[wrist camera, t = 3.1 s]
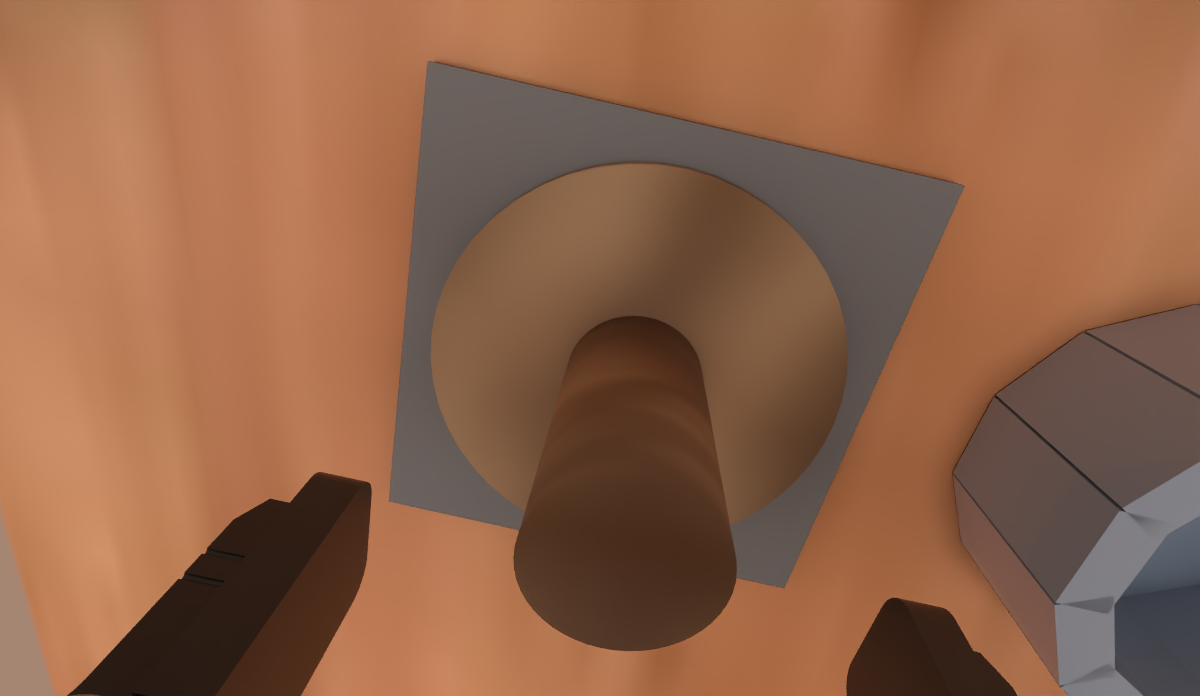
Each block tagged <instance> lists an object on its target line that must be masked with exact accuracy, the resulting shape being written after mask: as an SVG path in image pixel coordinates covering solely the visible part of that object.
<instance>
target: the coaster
mask: <svg viewBox="0 0 1200 696" xmlns="http://www.w3.org/2000/svg"><path fill="white" fill-rule="evenodd" d="M628 161H629V162H660V163H666V164H672V165H678V166H684V167H689V168H692V169H696V170H699V171H702V172H705V173H709V174H712V175H715V176H717V177H720V178H722V179H724V180H726V181H728V182H730V183H732V184H735V185H737V186H739V187H741V188H743V189H744V190H746V191H747V192H749V193H750V194H752V195H754V196H755V197H757V198H758V199H760V200H761V201H763V202H764V203H766V204H767V205H768V206H769V207H771V208H772V209H773V210H774V211H775V212H776V213H777V214H779V215H780V216H781V217H782V218H783V219H784V220H785V221H787V222H788V223H789V224H790V225H791V226H792V227H793V228H794V229H795V231H796V232H797V233H798V234H799V235H800V236H801V238H802V239H803V240H804V241H805V242H806V243H807V245H808V246H809V247H810V248H811V249H812V251H813V252H814V254H815V255H816V257H817V258H818V260H819V262H820V263H821V265H822V266H823V268H824V270H825V271H826V273H827V274H828V277H829V279H830V281H831V284H832V286H833V288H834V290H835V293H836V295H837V297H838V300H839V304H840V307H841V311H842V315H843V319H844V323H845V328H846V338H847V347H848V361H847V378H846V383H845V389H844V394H843V399H842V403H841V406H840V408H839V411H838V414H837V417H836V420H835V423H834V425H833V427H832V429H831V431H830V433H829V435H828V437H827V439H826V441H825V443H824V445H823V447H822V448H821V449H820V451H819V452H818V454H817V455H816V457H815V458H814V460H813V461H812V462H811V464H810V465H809V467H808V468H807V469H806V470H805V471H804V472H803V473H802V474H801V475H800V476H799V478H798V479H797V480H796V481H795V482H794V483H793V484H792V485H791V486H790V487H789V488H787V489H786V490H785V491H784V492H783V493H782V494H780V495H779V496H778V497H777V498H776V499H775V500H773V501H772V502H770V503H769V504H767V505H766V506H764V507H763V508H761V509H760V510H758V511H757V512H755V513H754V514H752V515H750V516H748V517H746V518H744V519H742V520H740V521H738V522H736V523H734V524H732V525H730V527H731V533H732V538H733V544H734V549H735V555H736V560H737V575H736V578H740V579H744V580H749V581H753V582H758V583H762V584H767V585H771V586H776V587H781V588H785V586H786V584H787V581H788V579H789V577H790V575H791V572H792V570H793V568H794V566H795V564H796V561H797V559H798V557H799V555H800V552H801V550H802V548H803V546H804V543H805V541H806V539H807V537H808V534H809V532H810V530H811V528H812V526H813V523H814V521H815V519H816V517H817V514H818V512H819V510H820V508H821V505H822V503H823V501H824V499H825V496H826V494H827V492H828V490H829V488H830V485H831V483H832V481H833V479H834V476H835V474H836V472H837V470H838V467H839V465H840V463H841V461H842V459H843V456H844V454H845V452H846V450H847V447H848V445H849V443H850V441H851V438H852V436H853V434H854V432H855V429H856V427H857V425H858V423H859V421H860V418H861V416H862V414H863V412H864V409H865V407H866V405H867V403H868V400H869V398H870V396H871V394H872V391H873V389H874V387H875V385H876V383H877V380H878V378H879V376H880V374H881V371H882V369H883V367H884V365H885V362H886V360H887V358H888V356H889V354H890V351H891V349H892V347H893V345H894V342H895V340H896V338H897V336H898V333H899V331H900V329H901V327H902V324H903V322H904V320H905V318H906V316H907V313H908V311H909V309H910V307H911V304H912V302H913V300H914V298H915V295H916V293H917V291H918V289H919V287H920V284H921V282H922V280H923V278H924V275H925V273H926V271H927V269H928V266H929V264H930V262H931V260H932V257H933V255H934V253H935V251H936V249H937V246H938V244H939V242H940V240H941V237H942V235H943V233H944V231H945V228H946V226H947V224H948V222H949V219H950V217H951V215H952V213H953V211H954V208H955V206H956V204H957V202H958V199H959V197H960V195H961V193H962V190H963V188H964V186H963V185H960V184H957V183H954V182H949V181H945V180H941V179H936V178H932V177H928V176H924V175H919V174H915V173H911V172H906V171H902V170H898V169H893V168H889V167H885V166H881V165H876V164H872V163H868V162H863V161H859V160H855V159H850V158H846V157H842V156H838V155H833V154H829V153H825V152H820V151H816V150H812V149H807V148H803V147H799V146H795V145H790V144H786V143H782V142H777V141H773V140H769V139H764V138H760V137H756V136H752V135H747V134H743V133H739V132H734V131H730V130H726V129H721V128H717V127H713V126H709V125H704V124H700V123H696V122H691V121H687V120H683V119H678V118H674V117H670V116H666V115H661V114H657V113H653V112H648V111H644V110H640V109H635V108H631V107H627V106H622V105H618V104H614V103H610V102H605V101H601V100H597V99H592V98H588V97H584V96H579V95H575V94H571V93H567V92H562V91H558V90H554V89H549V88H545V87H541V86H536V85H532V84H528V83H524V82H519V81H515V80H511V79H506V78H502V77H498V76H493V75H489V74H485V73H481V72H476V71H472V70H468V69H463V68H459V67H455V66H450V65H446V64H442V63H438V62H432V61H428V62H427V74H426V85H425V96H424V108H423V119H422V130H421V142H420V153H419V164H418V176H417V187H416V198H415V210H414V221H413V233H412V244H411V255H410V267H409V278H408V289H407V301H406V312H405V323H404V335H403V346H402V357H401V369H400V380H399V391H398V403H397V414H396V425H395V437H394V448H393V459H392V471H391V482H390V493H389V502H394V503H398V504H403V505H408V506H412V507H417V508H421V509H426V510H430V511H435V512H439V513H444V514H448V515H453V516H458V517H462V518H467V519H471V520H476V521H480V522H485V523H489V524H494V525H499V526H503V527H508V528H512V529H517V530H520V527H521V523H522V520H523V516H524V513H525V511H524V510H522V509H521V508H519V507H518V506H516V505H515V504H513V503H512V502H510V501H509V500H507V499H506V498H505V497H504V496H502V495H501V494H500V493H499V492H498V491H497V490H495V489H494V488H493V487H492V486H491V485H489V484H488V483H487V482H486V480H485V479H484V478H483V477H482V476H481V475H480V474H479V473H478V472H477V471H476V470H475V469H474V468H473V466H472V465H471V464H470V462H469V461H468V460H467V458H466V457H465V455H464V454H463V453H462V451H461V450H460V449H459V447H458V445H457V444H456V442H455V440H454V438H453V436H452V434H451V433H450V431H449V429H448V427H447V425H446V422H445V420H444V417H443V415H442V412H441V410H440V407H439V404H438V400H437V396H436V392H435V388H434V384H433V377H432V367H431V333H432V328H433V322H434V317H435V311H436V307H437V304H438V302H439V299H440V296H441V293H442V290H443V287H444V284H445V282H446V280H447V278H448V276H449V274H450V273H451V271H452V269H453V267H454V265H455V263H456V261H457V260H458V258H459V257H460V255H461V254H462V253H463V251H464V250H465V248H466V247H467V246H468V244H469V243H470V241H471V240H472V239H473V238H474V237H475V236H476V235H477V234H478V233H479V232H480V231H481V230H482V228H483V227H484V226H485V225H486V224H487V223H488V222H489V221H490V220H491V219H492V218H493V217H495V216H496V215H497V214H498V213H499V212H501V211H502V210H503V209H505V208H506V207H507V206H508V205H510V204H511V203H512V202H514V201H515V200H516V199H517V198H519V197H520V196H522V195H523V194H525V193H527V192H529V191H530V190H532V189H534V188H536V187H537V186H539V185H541V184H542V183H544V182H547V181H549V180H552V179H554V178H557V177H559V176H562V175H564V174H567V173H569V172H572V171H576V170H580V169H584V168H588V167H592V166H596V165H601V164H610V163H619V162H628Z"/></svg>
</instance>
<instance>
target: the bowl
mask: <svg viewBox="0 0 1200 696" xmlns="http://www.w3.org/2000/svg"><path fill="white" fill-rule="evenodd" d="M996 395H997V396H998V398H997V397H993V399H992V401H991V403H990V405H989V407H988V408H987V410H986V412H985V414H984V416H983V418H982V419H981V421H980V423H979V425H978V427H977V429H976V431H975V432H974V434H973V436H972V438H971V440H970V442H969V443H968V445H967V447H966V449H965V451H964V453H963V455H962V456H961V458H960V460H959V462H958V464H957V466H956V467H955V469H954V471H953V473H954V474H953V482H954V490H955V498H956V506H957V514H958V521H959V529H960V537H961V542H962V544H963V546H964V547H965V548H966V550H967V551H968V553H969V554H970V556H971V557H972V559H973V560H974V562H975V563H976V565H977V566H978V568H979V569H980V570H981V572H982V573H983V575H984V576H985V578H986V579H987V581H988V582H989V584H990V585H991V587H992V588H993V590H994V591H995V593H996V594H997V595H998V597H999V598H1000V600H1001V601H1002V603H1003V604H1004V606H1005V607H1006V609H1007V610H1008V612H1009V613H1010V615H1011V616H1012V617H1013V619H1014V620H1015V622H1016V623H1017V625H1018V626H1019V628H1020V629H1021V631H1022V632H1023V634H1024V635H1025V637H1026V638H1027V639H1028V641H1029V642H1030V644H1031V645H1032V647H1033V648H1034V650H1035V651H1036V653H1037V654H1038V656H1039V657H1040V659H1041V660H1042V661H1043V663H1044V664H1045V666H1046V667H1047V669H1048V670H1049V672H1050V673H1051V675H1052V676H1053V678H1054V679H1055V681H1056V682H1057V683H1058V685H1059V686H1060V688H1061V689H1062V690H1064V691H1065V692H1066V693H1067V694H1068V695H1069V696H1200V305H1197V304H1196V305H1192V306H1188V307H1183V308H1179V309H1175V310H1171V311H1167V312H1162V313H1158V314H1154V315H1150V316H1146V317H1141V318H1137V319H1133V320H1129V321H1125V322H1120V323H1116V324H1112V325H1108V326H1104V327H1099V328H1095V329H1091V330H1087V331H1086V334H1085V333H1083V332H1082V333H1081V334H1079V335H1078V336H1077V337H1075V338H1074V339H1072V340H1071V341H1070V342H1068V343H1067V344H1066V345H1064V346H1063V347H1061V348H1060V349H1059V350H1057V351H1056V352H1054V353H1053V354H1052V355H1050V356H1049V357H1047V358H1046V359H1045V360H1043V361H1042V362H1040V363H1039V364H1038V365H1036V366H1035V367H1033V368H1032V369H1031V370H1029V371H1028V372H1027V373H1025V374H1024V375H1022V376H1021V377H1020V378H1018V379H1017V380H1015V381H1014V382H1013V383H1011V384H1010V385H1008V386H1007V387H1006V388H1004V389H1003V390H1001V391H1000V392H999V393H997V394H996Z"/></svg>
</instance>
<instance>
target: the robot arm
mask: <svg viewBox="0 0 1200 696" xmlns="http://www.w3.org/2000/svg"><path fill="white" fill-rule="evenodd" d="M371 493H372V491H371V485H370V483H368V482H365V481H360V480H355V479H351V478H346V477H342V476H337V475H332V474H328V473H323V472H318V473H316V474H315V475H313V476H312V477H311V478H310V479H309V481H308V482H307V483H306V484H305V485H304V487H303V488H302V489H301V490H300V491H299V493H298V494H297V495H296V496H295V497H294V499H293V500H292V501H291V502H290V503H288V502H283V501H278V500H274V499H269V500H267V501H265V502H264V503H262V504H260V505H258V506H257V507H255V508H253V509H251V510H250V511H248V512H246V513H244V514H243V515H241V516H239V517H237V518H236V519H234V520H233V521H232V522H231V523H230V524H229V525H228V526H227V527H226V528H225V529H224V531H223V532H222V533H221V534H220V535H219V536H218V537H217V538H216V539H215V540H214V541H213V542H212V543H211V545H210V546H209V547H208V548H207V551H206V553H205V554H201V555H200V556H199V557H198V559H197V560H196V561H195V562H194V563H193V564H192V565H191V566H190V567H189V568H188V569H187V570H186V571H185V574H184V576H183V578H182V579H178V580H177V581H176V582H175V583H174V584H173V585H172V587H171V588H170V589H169V590H168V591H167V592H166V593H165V594H164V595H163V596H162V597H161V598H160V599H159V600H158V602H157V603H156V604H155V605H154V606H153V607H152V608H151V609H150V610H149V611H148V612H147V613H146V614H145V616H144V617H143V618H142V619H141V620H140V621H139V622H138V623H137V624H136V625H135V626H134V627H133V628H132V630H131V631H130V632H129V633H128V634H127V635H126V636H125V637H124V638H123V639H122V640H121V641H120V642H119V644H118V645H117V646H116V647H115V648H114V649H113V650H112V651H111V652H110V653H109V654H108V655H107V656H106V658H105V659H104V660H103V661H102V662H101V663H100V664H99V665H98V666H97V667H96V668H95V669H94V670H93V671H92V673H91V674H90V675H89V676H88V677H87V678H86V679H85V680H84V681H83V682H82V683H81V684H80V685H79V686H78V687H77V688H76V689H75V690H73V691H72V692H71V693H70V694H68V695H67V696H301V694H302V693H303V691H304V689H305V687H306V685H307V684H308V682H309V680H310V678H311V676H312V675H313V673H314V671H315V669H316V668H317V666H318V664H319V662H320V660H321V659H322V657H323V655H324V653H325V651H326V650H327V648H328V646H329V644H330V642H331V641H332V639H333V637H334V635H335V633H336V632H337V630H338V628H339V626H340V624H341V623H342V621H343V619H344V617H345V615H346V614H347V612H348V610H349V608H350V606H351V605H352V603H353V601H354V599H355V597H356V594H357V592H358V590H359V587H360V584H361V581H362V578H363V575H364V571H365V567H366V561H367V551H368V537H369V523H370V508H371ZM846 689H847V696H1017V694H1016V692H1015V691H1014V689H1013V687H1012V686H1011V685H1010V684H1009V683H1008V682H1007V681H1006V680H1005V679H1004V678H1003V677H1002V676H1001V675H1000V674H999V673H998V671H997V670H996V669H995V668H994V667H993V666H992V665H991V664H990V663H989V662H988V661H987V660H986V659H985V658H984V657H983V655H982V654H981V653H979V652H974V651H973V650H972V648H971V646H970V645H969V643H968V641H967V639H966V638H965V636H964V634H963V632H962V631H961V629H960V627H959V625H958V624H957V622H956V620H955V619H954V617H953V616H952V614H951V613H950V612H949V611H947V610H946V609H944V608H941V607H936V606H932V605H927V604H922V603H918V602H913V601H908V600H904V599H899V598H891V599H889V600H887V601H886V602H885V603H884V605H883V606H882V608H881V610H880V612H879V613H878V615H877V617H876V619H875V621H874V622H873V624H872V626H871V628H870V630H869V631H868V633H867V635H866V637H865V639H864V640H863V642H862V644H861V646H860V648H859V649H858V651H857V653H856V655H855V657H854V659H853V660H852V662H851V664H850V667H849V671H848V675H847V686H846Z"/></svg>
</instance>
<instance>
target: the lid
mask: <svg viewBox="0 0 1200 696" xmlns="http://www.w3.org/2000/svg"><path fill="white" fill-rule="evenodd" d="M847 361H848V347H847V338H846V328H845V323H844V319H843V315H842V311H841V307H840V304H839V300H838V297H837V295H836V293H835V290H834V288H833V286H832V284H831V281H830V279H829V277H828V274H827V273H826V271H825V270H824V268H823V266H822V265H821V263H820V262H819V260H818V258H817V257H816V255H815V254H814V252H813V251H812V249H811V248H810V247H809V246H808V245H807V243H806V242H805V241H804V240H803V239H802V238H801V236H800V235H799V234H798V233H797V232H796V231H795V229H794V228H793V227H792V226H791V225H790V224H789V223H788V222H787V221H785V220H784V219H783V218H782V217H781V216H780V215H779V214H777V213H776V212H775V211H774V210H773V209H772V208H771V207H769V206H768V205H767V204H766V203H764V202H763V201H761V200H760V199H758V198H757V197H755V196H754V195H752V194H750V193H749V192H747V191H746V190H744V189H743V188H741V187H739V186H737V185H735V184H732V183H730V182H728V181H726V180H724V179H722V178H720V177H717V176H715V175H712V174H709V173H705V172H702V171H699V170H696V169H692V168H689V167H684V166H678V165H672V164H666V163H660V162H629V161H628V162H619V163H610V164H601V165H596V166H592V167H588V168H584V169H580V170H576V171H572V172H569V173H567V174H564V175H562V176H559V177H557V178H554V179H552V180H549V181H547V182H544V183H542V184H541V185H539V186H537V187H536V188H534V189H532V190H530V191H529V192H527V193H525V194H523V195H522V196H520V197H519V198H517V199H516V200H515V201H514V202H512V203H511V204H510V205H508V206H507V207H506V208H505V209H503V210H502V211H501V212H499V213H498V214H497V215H496V216H495V217H493V218H492V219H491V220H490V221H489V222H488V223H487V224H486V225H485V226H484V227H483V228H482V230H481V231H480V232H479V233H478V234H477V235H476V236H475V237H474V238H473V239H472V240H471V241H470V243H469V244H468V246H467V247H466V248H465V250H464V251H463V253H462V254H461V255H460V257H459V258H458V260H457V261H456V263H455V265H454V267H453V269H452V271H451V273H450V274H449V276H448V278H447V280H446V282H445V284H444V287H443V290H442V293H441V296H440V299H439V302H438V304H437V307H436V311H435V317H434V322H433V328H432V333H431V367H432V377H433V384H434V388H435V392H436V396H437V400H438V404H439V407H440V410H441V412H442V415H443V417H444V420H445V422H446V425H447V427H448V429H449V431H450V433H451V434H452V436H453V438H454V440H455V442H456V444H457V445H458V447H459V449H460V450H461V451H462V453H463V454H464V455H465V457H466V458H467V460H468V461H469V462H470V464H471V465H472V466H473V468H474V469H475V470H476V471H477V472H478V473H479V474H480V475H481V476H482V477H483V478H484V479H485V480H486V482H487V483H488V484H489V485H491V486H492V487H493V488H494V489H495V490H497V491H498V492H499V493H500V494H501V495H502V496H504V497H505V498H506V499H507V500H509V501H510V502H512V503H513V504H515V505H516V506H518V507H519V508H521V509H522V510H524V511H525V513H524V516H523V520H522V523H521V527H520V530H519V534H518V537H517V541H516V544H515V549H514V570H515V575H516V579H517V582H518V585H519V587H520V590H521V592H522V593H523V595H524V597H525V599H526V601H527V602H528V603H529V604H530V606H531V607H532V608H533V610H534V611H535V612H536V613H537V614H538V615H539V616H540V617H541V618H542V619H543V620H544V621H546V622H547V623H548V624H549V625H551V626H552V627H553V628H555V629H557V630H558V631H560V632H561V633H563V634H565V635H567V636H569V637H571V638H573V639H575V640H578V641H580V642H583V643H585V644H588V645H592V646H596V647H600V648H605V649H611V650H621V651H643V650H651V649H657V648H662V647H666V646H670V645H673V644H676V643H679V642H681V641H683V640H685V639H688V638H690V637H692V636H694V635H695V634H697V633H698V632H700V631H702V630H703V629H704V628H706V627H707V626H708V625H709V624H711V623H712V622H713V621H714V620H715V619H716V618H717V617H718V616H719V615H720V613H721V612H722V610H723V609H724V608H725V606H726V605H727V603H728V601H729V599H730V597H731V595H732V593H733V589H734V586H735V583H736V575H737V560H736V555H735V549H734V544H733V538H732V533H731V527H730V525H732V524H734V523H736V522H738V521H740V520H742V519H744V518H746V517H748V516H750V515H752V514H754V513H755V512H757V511H758V510H760V509H761V508H763V507H764V506H766V505H767V504H769V503H770V502H772V501H773V500H775V499H776V498H777V497H778V496H779V495H780V494H782V493H783V492H784V491H785V490H786V489H787V488H789V487H790V486H791V485H792V484H793V483H794V482H795V481H796V480H797V479H798V478H799V476H800V475H801V474H802V473H803V472H804V471H805V470H806V469H807V468H808V467H809V465H810V464H811V462H812V461H813V460H814V458H815V457H816V455H817V454H818V452H819V451H820V449H821V448H822V447H823V445H824V443H825V441H826V439H827V437H828V435H829V433H830V431H831V429H832V427H833V425H834V423H835V420H836V417H837V414H838V411H839V408H840V406H841V403H842V399H843V394H844V389H845V383H846V378H847Z"/></svg>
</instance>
